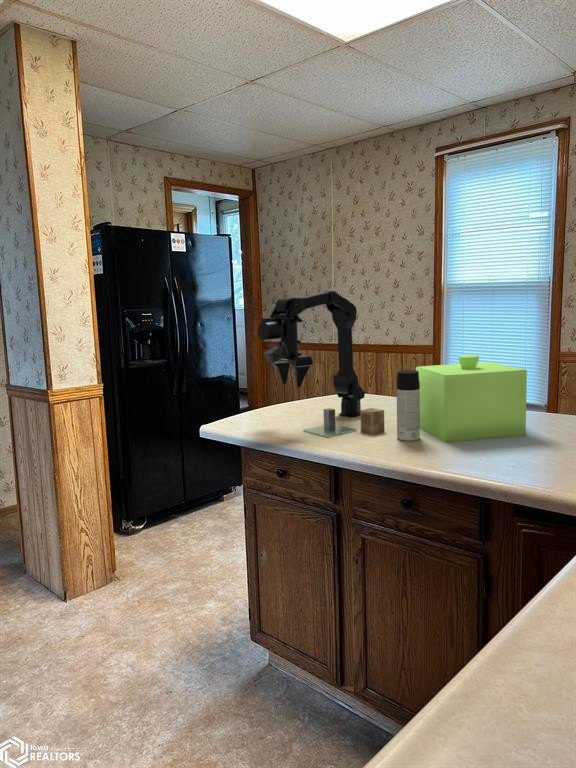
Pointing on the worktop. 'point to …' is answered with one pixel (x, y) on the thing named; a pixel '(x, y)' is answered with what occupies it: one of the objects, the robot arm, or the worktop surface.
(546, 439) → the worktop surface
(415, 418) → the spray can
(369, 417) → the brown shipping carton
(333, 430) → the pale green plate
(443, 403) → the canister
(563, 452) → the worktop surface
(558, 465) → the worktop surface
